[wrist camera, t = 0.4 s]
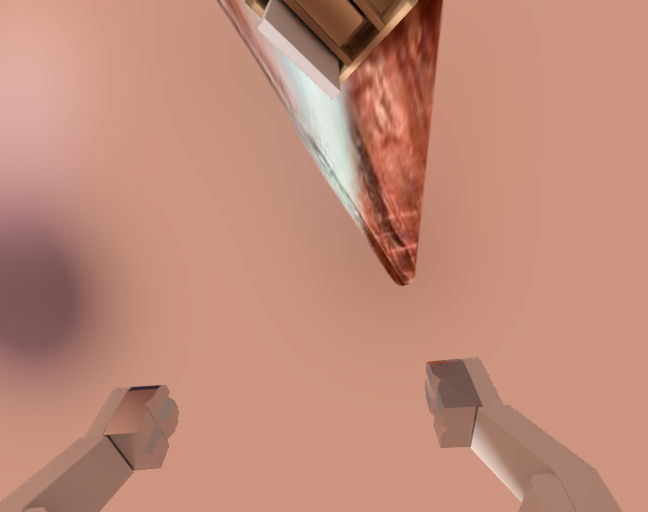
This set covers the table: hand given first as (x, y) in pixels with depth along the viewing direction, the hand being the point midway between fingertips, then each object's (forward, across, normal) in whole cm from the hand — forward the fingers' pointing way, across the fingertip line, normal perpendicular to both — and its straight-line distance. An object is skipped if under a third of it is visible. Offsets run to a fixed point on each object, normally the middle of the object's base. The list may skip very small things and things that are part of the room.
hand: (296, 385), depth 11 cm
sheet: (+46, 0, -11) cm, 48 cm away
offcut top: (+42, -3, -12) cm, 43 cm away
